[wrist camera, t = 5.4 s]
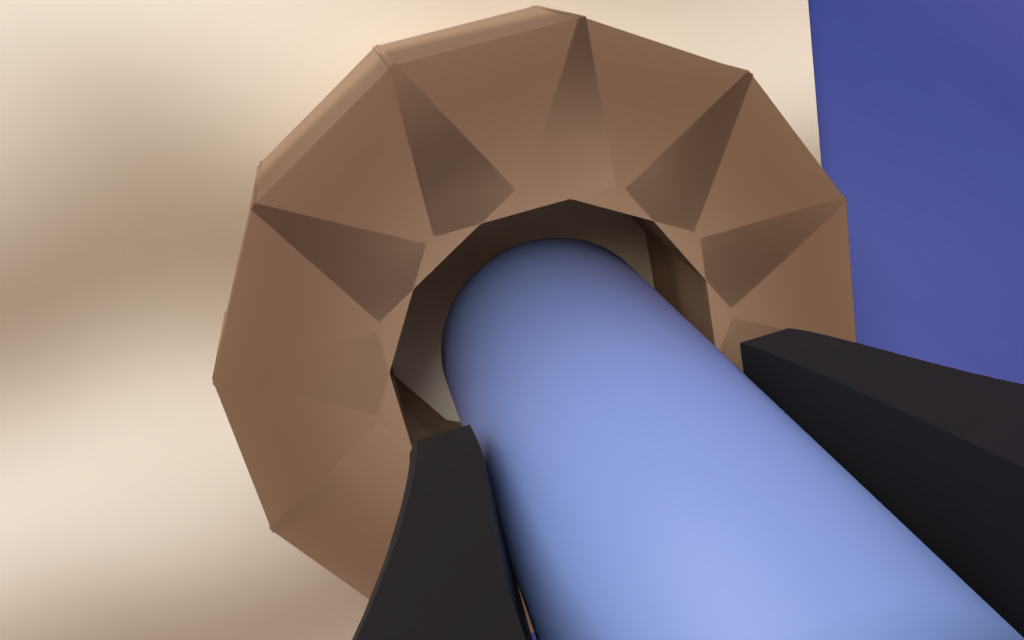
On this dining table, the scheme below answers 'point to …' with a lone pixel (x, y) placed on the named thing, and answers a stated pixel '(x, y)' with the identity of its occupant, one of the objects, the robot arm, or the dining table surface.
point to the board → (215, 286)
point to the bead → (486, 197)
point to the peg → (669, 475)
